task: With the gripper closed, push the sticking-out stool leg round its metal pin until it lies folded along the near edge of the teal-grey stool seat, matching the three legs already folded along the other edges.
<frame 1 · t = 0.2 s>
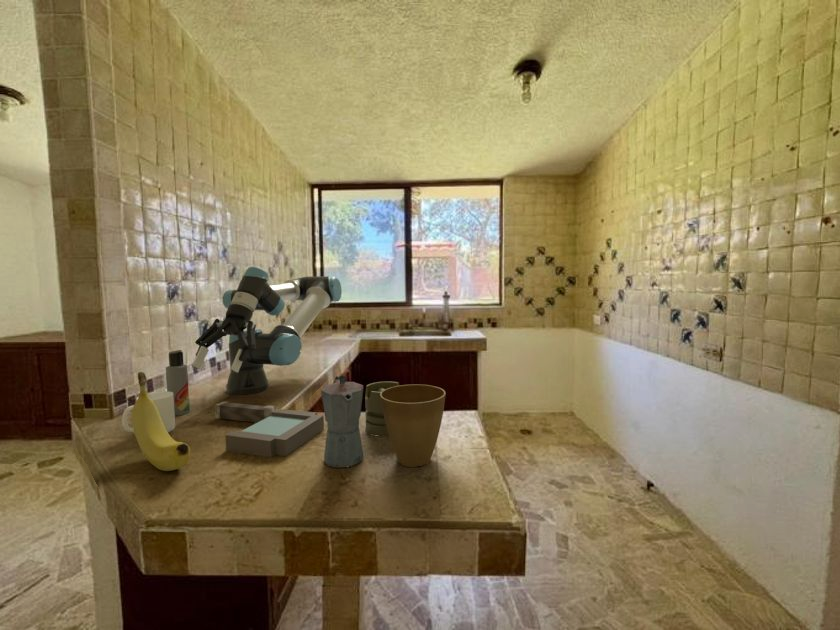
hand: (214, 369, 111), 15 cm above the counter, tool tilted 35°, fingers open, 13 cm apart
moka pot: (342, 459, 86), on the counter
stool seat: (275, 437, 98), on the counter
plant pot: (413, 460, 85), on the counter
banana: (163, 465, 84), on the counter
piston: (385, 429, 104), on the counter
lotion bottle: (179, 413, 117), on the counter
folding leg: (245, 412, 111), point 2 cm above the counter, hinge at -90.0°
cup: (149, 434, 101), on the counter
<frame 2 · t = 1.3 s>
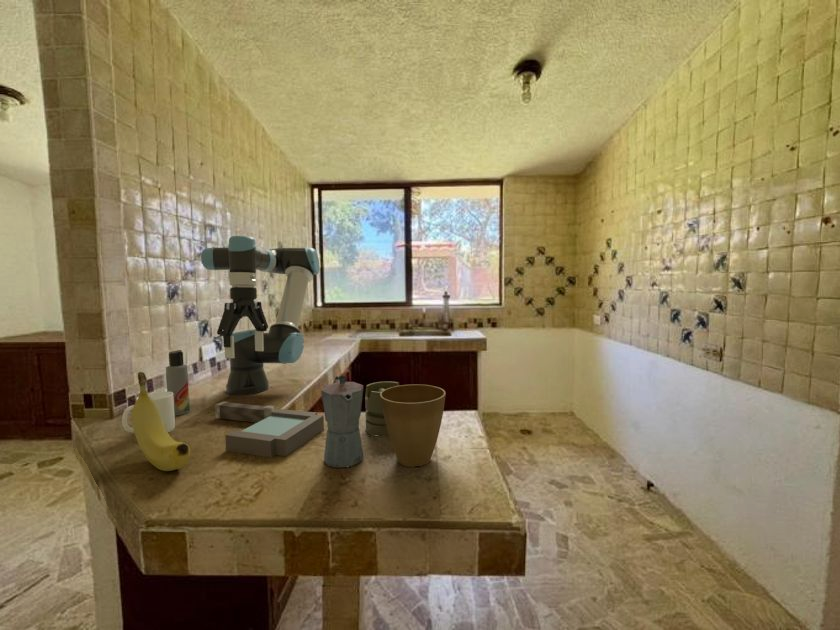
hand: (245, 354, 116), 19 cm above the counter, tool pointing down, fingers open, 13 cm apart
nothing on the counter moved.
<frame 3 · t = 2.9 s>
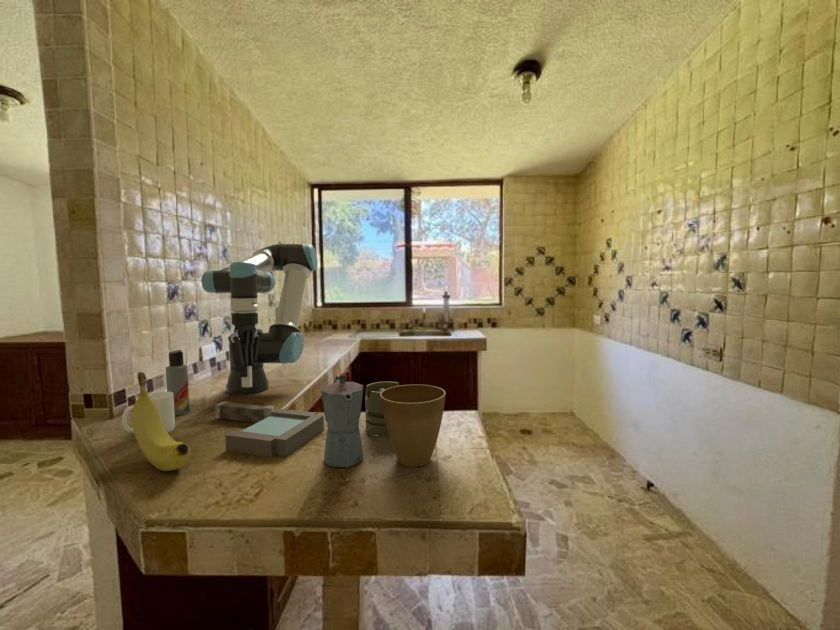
hand: (247, 386, 117), 9 cm above the counter, tool pointing down, fingers closed
nothing on the counter moved.
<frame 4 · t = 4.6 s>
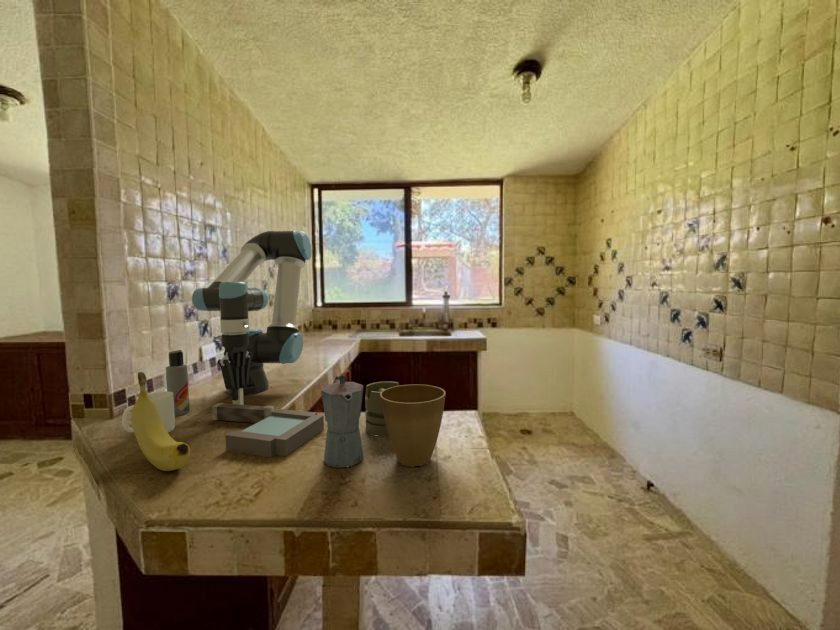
hand: (238, 409, 113), 3 cm above the counter, tool pointing down, fingers closed
folding leg: (244, 412, 110), point 2 cm above the counter, hinge at -85.8°, touching gripper
everything else where it was.
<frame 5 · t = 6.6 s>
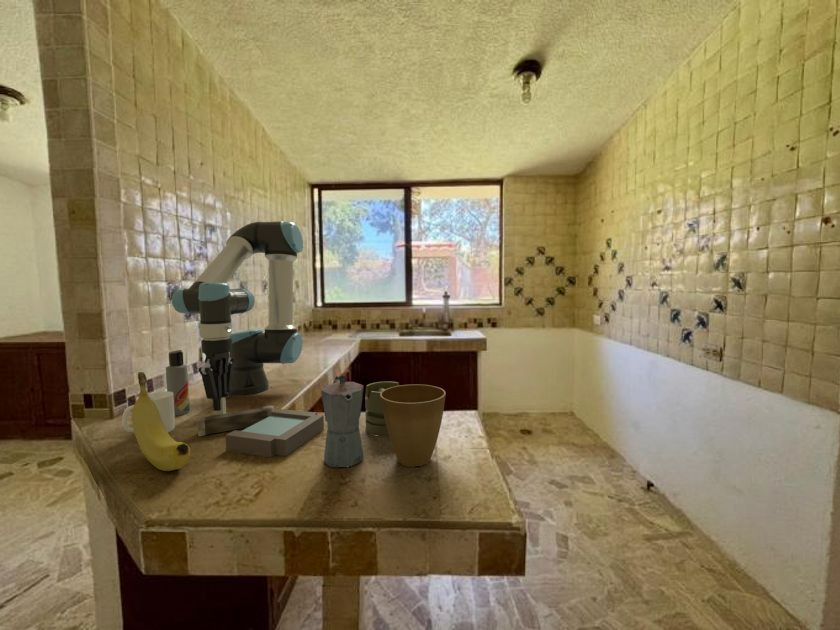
hand: (220, 420, 105), 2 cm above the counter, tool pointing down, fingers closed
folding leg: (237, 419, 104), point 2 cm above the counter, hinge at -44.3°, touching gripper
everything else where it was.
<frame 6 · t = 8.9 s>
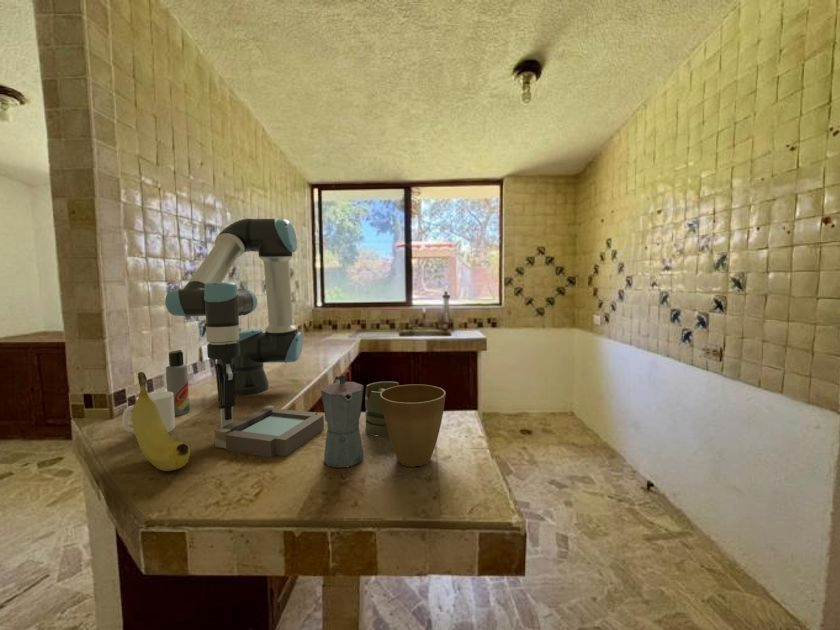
hand: (227, 430, 97), 2 cm above the counter, tool pointing down, fingers closed
folding leg: (248, 424, 101), point 2 cm above the counter, hinge at -0.3°, touching gripper
everything else where it was.
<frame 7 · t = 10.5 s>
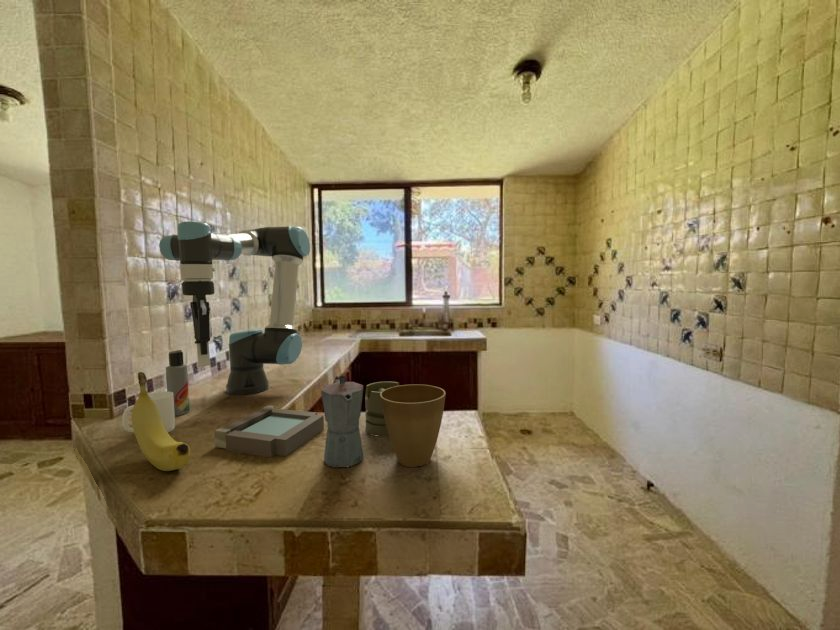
hand: (204, 365, 103), 18 cm above the counter, tool pointing down, fingers closed
folding leg: (248, 424, 101), point 2 cm above the counter, hinge at -0.3°
everything else where it was.
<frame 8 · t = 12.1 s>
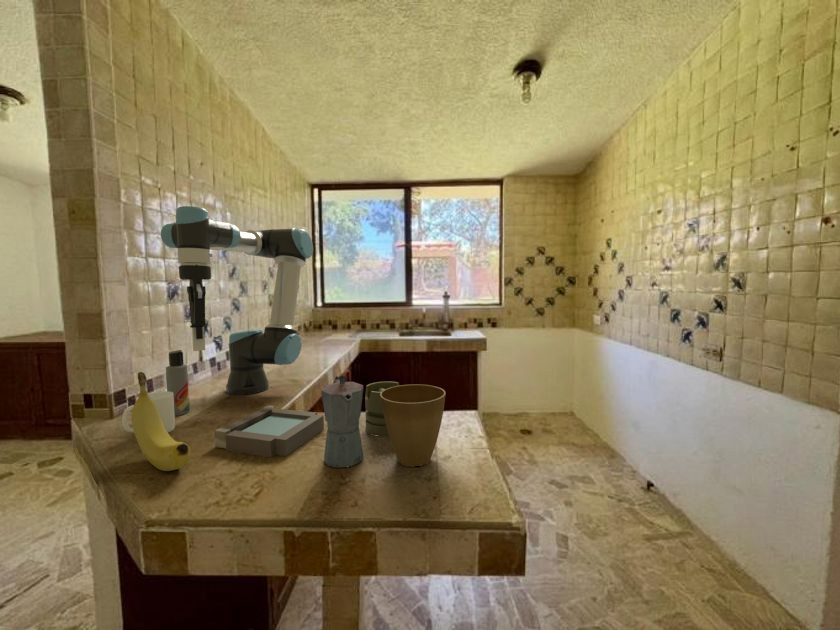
hand: (199, 350, 103), 22 cm above the counter, tool pointing down, fingers closed
nothing on the counter moved.
at the end: folding leg at +0° (first picture: -90°) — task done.
